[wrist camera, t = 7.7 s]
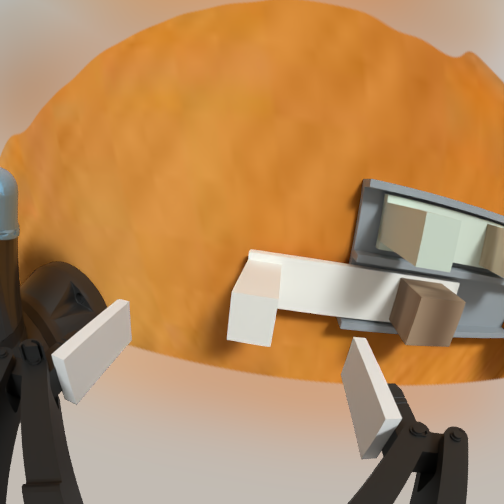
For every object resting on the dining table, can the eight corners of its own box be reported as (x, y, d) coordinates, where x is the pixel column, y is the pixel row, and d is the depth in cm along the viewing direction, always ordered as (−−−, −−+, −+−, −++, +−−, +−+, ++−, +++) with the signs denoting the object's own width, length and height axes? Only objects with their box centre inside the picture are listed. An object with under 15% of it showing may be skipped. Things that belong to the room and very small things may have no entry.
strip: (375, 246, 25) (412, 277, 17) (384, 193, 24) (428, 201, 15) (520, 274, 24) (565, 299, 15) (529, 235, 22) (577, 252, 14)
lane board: (336, 316, 29) (340, 328, 26) (363, 179, 25) (371, 178, 23) (496, 329, 27) (506, 337, 24) (525, 225, 23) (538, 229, 21)
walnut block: (388, 319, 26) (405, 344, 21) (400, 277, 25) (421, 297, 20) (428, 322, 25) (449, 346, 21) (441, 283, 24) (465, 302, 19)
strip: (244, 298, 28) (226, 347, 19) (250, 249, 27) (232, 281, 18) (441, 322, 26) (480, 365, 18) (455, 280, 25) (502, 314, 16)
